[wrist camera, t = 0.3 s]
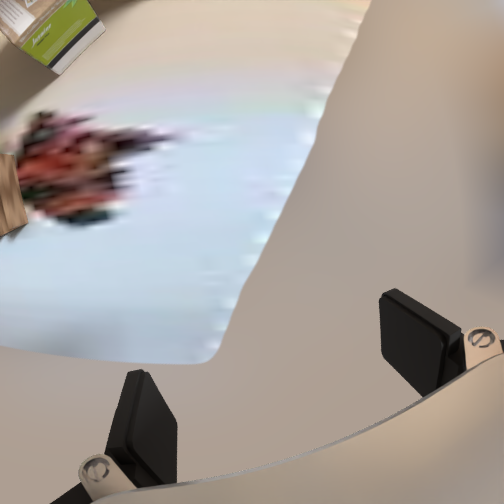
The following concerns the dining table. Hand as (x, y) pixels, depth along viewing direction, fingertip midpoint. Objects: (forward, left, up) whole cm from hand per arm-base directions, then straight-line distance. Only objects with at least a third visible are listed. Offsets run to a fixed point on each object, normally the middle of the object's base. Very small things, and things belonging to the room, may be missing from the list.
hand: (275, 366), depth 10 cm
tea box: (-38, -17, -31) cm, 52 cm away
